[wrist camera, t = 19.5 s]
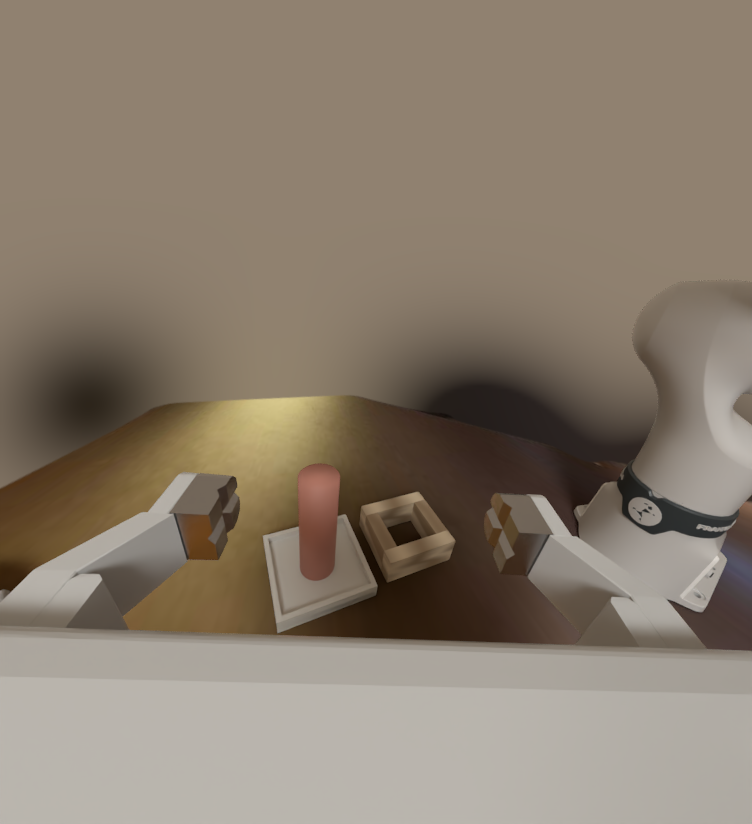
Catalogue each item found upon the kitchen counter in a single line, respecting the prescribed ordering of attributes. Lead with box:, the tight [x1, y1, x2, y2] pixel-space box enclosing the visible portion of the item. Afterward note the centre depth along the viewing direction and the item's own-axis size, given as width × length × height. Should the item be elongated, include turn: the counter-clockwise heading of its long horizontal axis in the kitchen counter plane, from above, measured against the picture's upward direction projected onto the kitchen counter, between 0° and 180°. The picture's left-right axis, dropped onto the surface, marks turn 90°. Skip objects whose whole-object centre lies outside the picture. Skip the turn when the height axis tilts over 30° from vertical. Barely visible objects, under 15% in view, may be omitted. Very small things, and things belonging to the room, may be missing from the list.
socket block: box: [359, 492, 455, 583], centre depth 46 cm, size 10×10×4 cm
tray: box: [263, 514, 378, 633], centre depth 41 cm, size 12×12×2 cm
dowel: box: [298, 464, 340, 581], centre depth 38 cm, size 4×4×15 cm
